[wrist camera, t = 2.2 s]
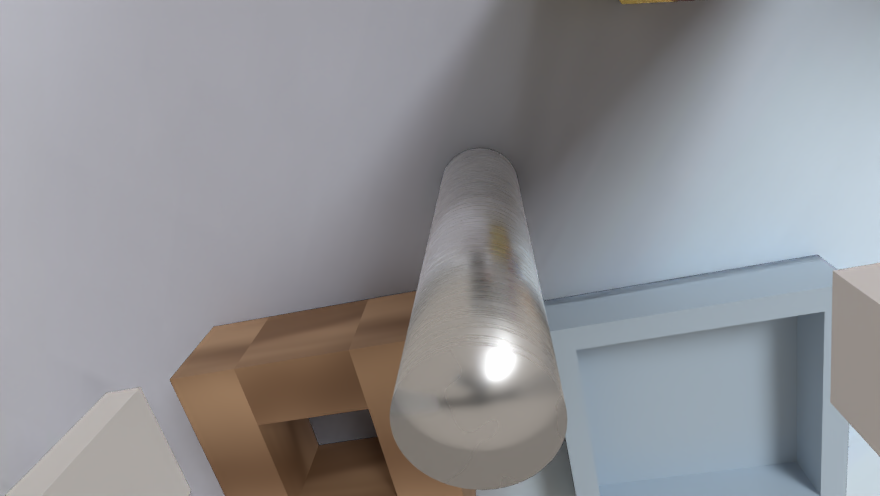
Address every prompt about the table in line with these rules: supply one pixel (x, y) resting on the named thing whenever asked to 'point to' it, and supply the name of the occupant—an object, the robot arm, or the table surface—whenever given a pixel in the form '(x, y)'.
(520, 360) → the cylinder
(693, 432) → the tray
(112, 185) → the table surface
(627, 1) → the candy box
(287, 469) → the bore block
